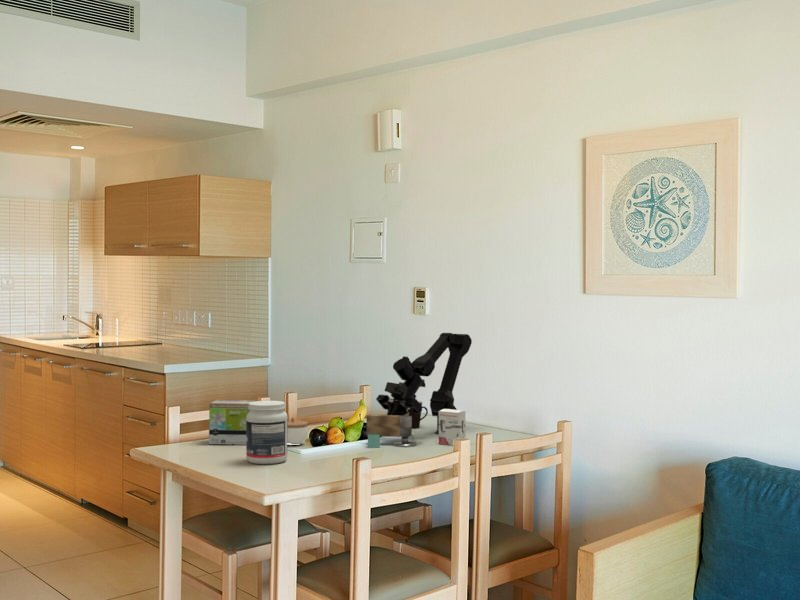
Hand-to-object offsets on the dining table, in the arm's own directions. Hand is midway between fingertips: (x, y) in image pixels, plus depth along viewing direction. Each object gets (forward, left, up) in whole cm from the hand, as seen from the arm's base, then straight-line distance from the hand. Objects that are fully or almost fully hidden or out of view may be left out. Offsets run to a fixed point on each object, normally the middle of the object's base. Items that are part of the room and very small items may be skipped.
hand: (387, 422), depth 304 cm
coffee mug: (-35, +6, -7) cm, 37 cm away
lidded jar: (+7, -32, -8) cm, 34 cm away
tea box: (+5, -54, -8) cm, 55 cm away
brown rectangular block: (+2, +1, -4) cm, 5 cm away
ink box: (-1, +23, -8) cm, 24 cm away
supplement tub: (+37, -33, -8) cm, 50 cm away
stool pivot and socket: (+4, +2, -7) cm, 9 cm away
